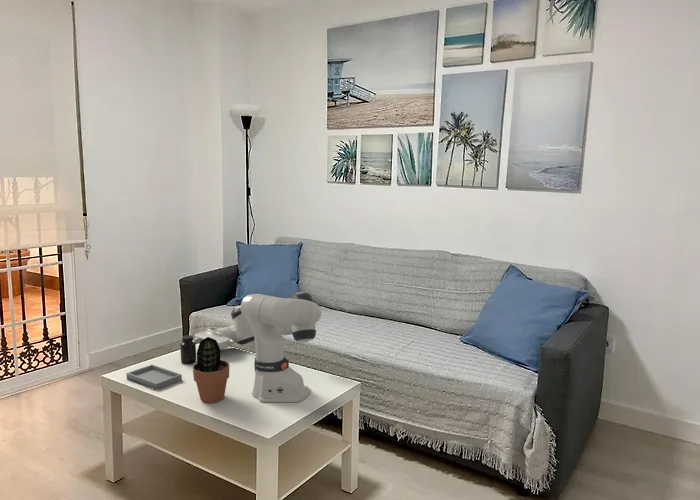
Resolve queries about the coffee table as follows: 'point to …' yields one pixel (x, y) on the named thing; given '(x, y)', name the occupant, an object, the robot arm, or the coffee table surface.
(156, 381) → the grey serving tray
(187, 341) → the supplement bottle
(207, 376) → the potted plant
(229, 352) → the coffee table surface
